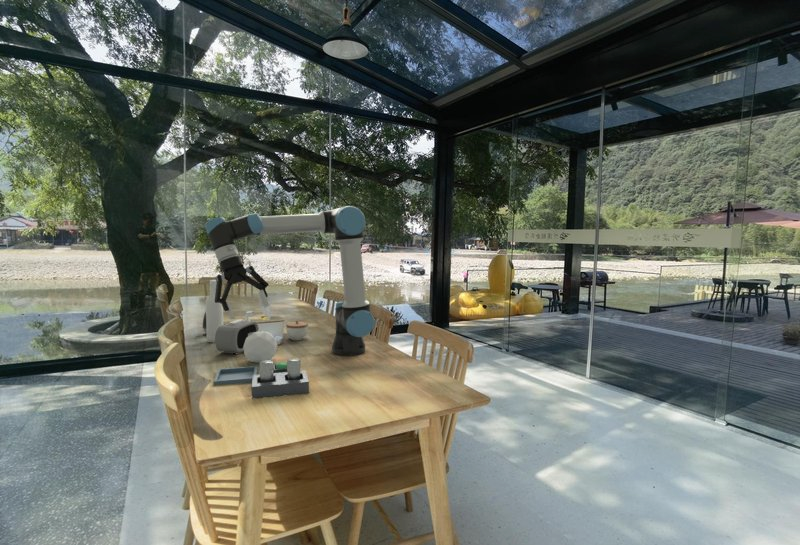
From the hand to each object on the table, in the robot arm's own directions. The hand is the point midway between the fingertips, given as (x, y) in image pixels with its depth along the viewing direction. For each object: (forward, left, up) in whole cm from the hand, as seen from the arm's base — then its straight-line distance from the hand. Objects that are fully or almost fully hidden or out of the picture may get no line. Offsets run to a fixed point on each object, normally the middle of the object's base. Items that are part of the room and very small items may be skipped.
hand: (250, 312), depth 154 cm
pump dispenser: (+22, -77, -24) cm, 83 cm away
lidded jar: (-20, -54, -24) cm, 62 cm away
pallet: (-10, +16, -24) cm, 31 cm away
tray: (+5, +1, -24) cm, 25 cm away
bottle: (+19, -60, -24) cm, 67 cm away
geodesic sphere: (-3, -18, -24) cm, 30 cm away
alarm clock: (+7, -40, -24) cm, 47 cm away
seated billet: (-14, +16, -24) cm, 33 cm away
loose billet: (-5, +16, -24) cm, 30 cm away
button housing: (-11, +3, -24) cm, 27 cm away
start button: (-11, +3, -22) cm, 25 cm away
